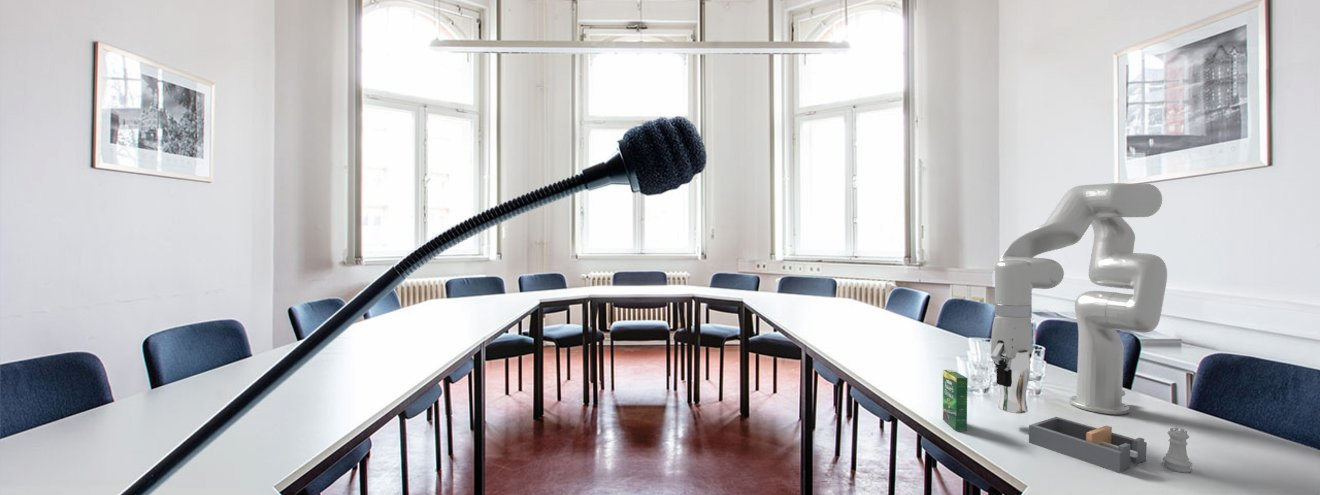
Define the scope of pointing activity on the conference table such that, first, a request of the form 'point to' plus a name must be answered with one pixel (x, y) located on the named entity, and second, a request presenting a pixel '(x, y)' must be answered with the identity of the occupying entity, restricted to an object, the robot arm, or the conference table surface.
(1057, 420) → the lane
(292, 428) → the conference table surface
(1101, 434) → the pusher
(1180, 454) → the rook chess piece
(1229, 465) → the conference table surface
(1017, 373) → the beer glass
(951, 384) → the coffee box
